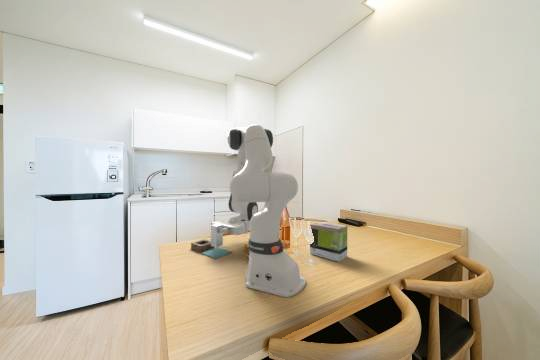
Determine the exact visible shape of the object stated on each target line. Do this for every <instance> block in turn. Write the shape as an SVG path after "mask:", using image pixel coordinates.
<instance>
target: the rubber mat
mask: <svg viewBox="0 0 540 360" xmlns="http://www.w3.org/2000/svg"><path fill="white" fill-rule="evenodd" d="M231 253H232V250H228V249H226V248H222V247H221V246H219V247H214V248H212V249H209V250H206V251H203V252H201V254H202V255H204V256H207V257H210V258H211V259H212V258H213V259H218V258H221V257H224V256H226V255H228V254H231Z"/></svg>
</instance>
